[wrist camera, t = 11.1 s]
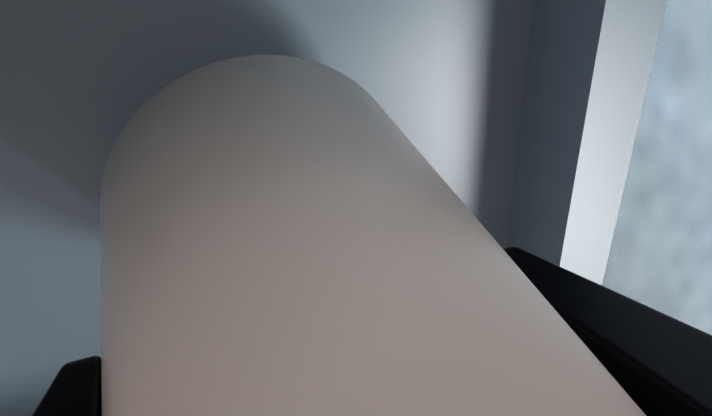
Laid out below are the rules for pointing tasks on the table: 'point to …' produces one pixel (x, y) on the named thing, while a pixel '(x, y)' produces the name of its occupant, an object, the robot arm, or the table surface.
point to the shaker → (312, 266)
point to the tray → (342, 53)
